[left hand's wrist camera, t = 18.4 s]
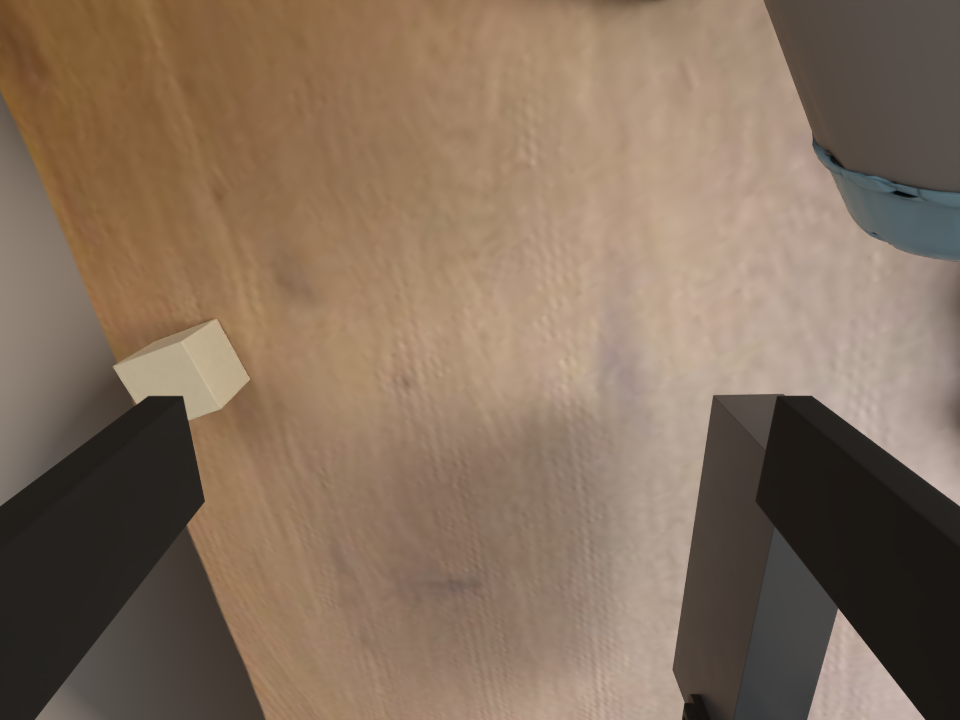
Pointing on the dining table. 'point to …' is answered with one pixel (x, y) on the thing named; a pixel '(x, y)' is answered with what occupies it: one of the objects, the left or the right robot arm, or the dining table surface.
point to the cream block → (186, 369)
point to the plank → (747, 585)
